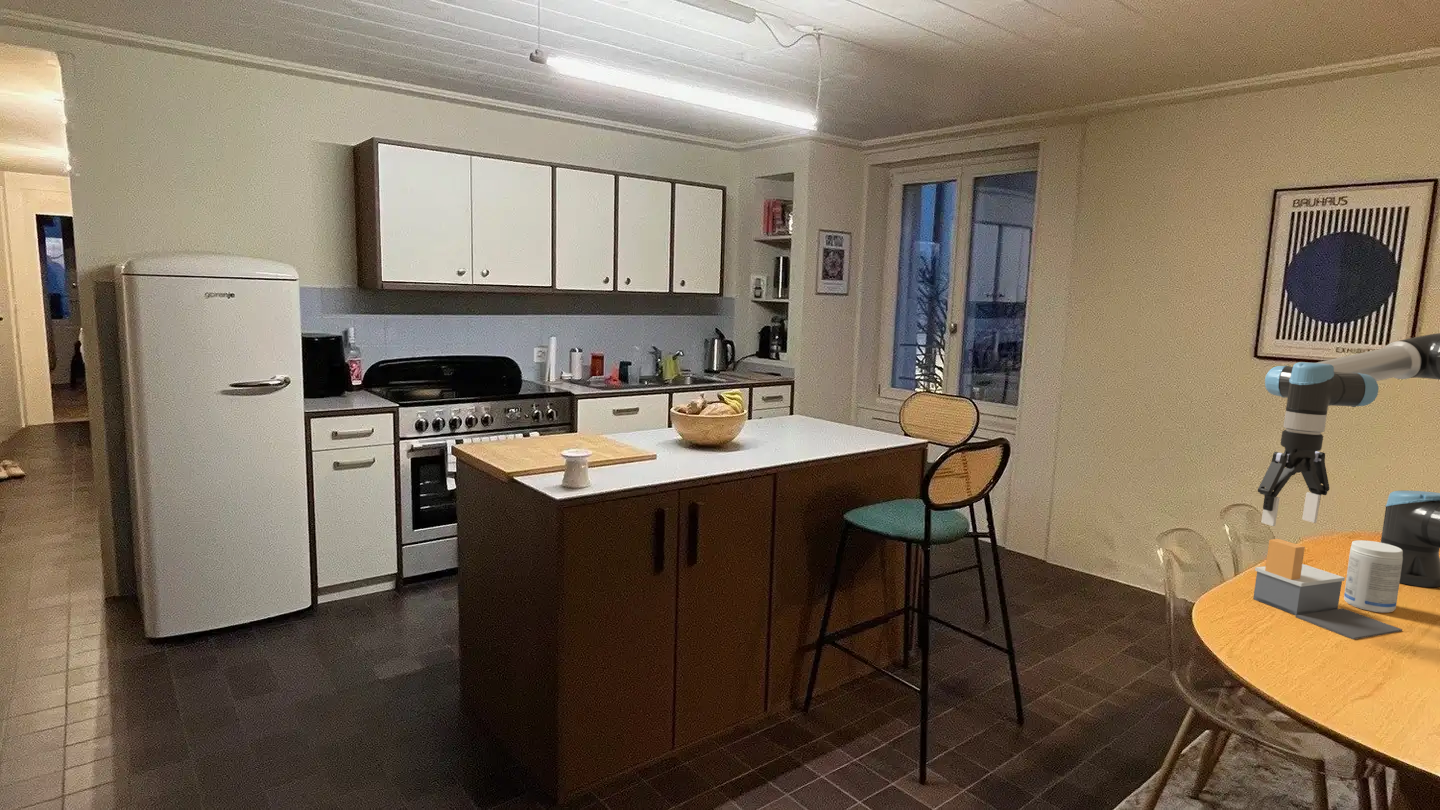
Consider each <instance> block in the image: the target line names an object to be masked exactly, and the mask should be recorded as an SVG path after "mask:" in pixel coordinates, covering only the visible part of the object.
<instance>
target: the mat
mask: <svg viewBox="0 0 1440 810" xmlns="http://www.w3.org/2000/svg"><path fill="white" fill-rule="evenodd" d="M1294 616H1295V615H1294ZM1295 618H1297V619H1299V620H1302V621H1304V622H1307V623H1310V624H1311V625H1315V626H1317V627H1320V628H1322V629H1325V630H1328V631H1330V632H1333V633H1335V634H1338V635H1340V636H1343V637H1345V638H1348V639H1351V640H1359V639H1365V638H1370V637H1375V636H1383V635H1389V634H1393V633H1398V632H1399V633H1400V632H1403V629H1402V628H1400V627H1397V626H1393V625H1391V624H1388V623H1386V622H1383V621H1380V620H1378V619H1374V618H1372V617H1369V616H1366V615H1363V614H1362V613H1361V614H1360V613H1359V612H1355V611H1352V610H1349V609H1346V608H1344V607H1341V608H1338V609H1334V610H1328V611H1321V612H1315V613H1308V614H1302V615H1296V616H1295Z"/></svg>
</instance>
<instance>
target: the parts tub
mask: <svg viewBox="0 0 1440 810" xmlns="http://www.w3.org/2000/svg"><path fill="white" fill-rule="evenodd" d="M1255 576H1256V578H1255V584H1254V590H1253V597H1252V598H1253V600H1255V601H1256V602H1259V603H1262V604H1265V605H1267V606H1270V607H1272V608H1275V609H1277V610H1281V611H1282V612H1285V613H1288V614H1290V615H1293V616H1296V615H1302V614H1308V613H1315V612H1321V611H1328V610H1334V609H1339V602H1340V596H1341V590H1342V584H1343V581H1340V582H1332V583H1325V584H1318V585H1310V586H1303V587H1300V586H1298V585H1295V584H1292V583H1289V582H1286V581H1283V580H1280V579H1278V578H1275V577H1272V576H1269V575H1266V574H1263V573H1260V572H1258V571H1256V575H1255Z"/></svg>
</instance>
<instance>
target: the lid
mask: <svg viewBox="0 0 1440 810" xmlns="http://www.w3.org/2000/svg"><path fill="white" fill-rule="evenodd" d="M1305 549H1306V547H1305V546H1304V545H1300V544H1297V543H1294V542H1290V541H1287V540H1284V539H1280V538H1273V539H1269V542H1268V546H1267V553H1266V554H1267V555H1266V563H1265V566H1255V569H1254V572H1257V571H1258V572H1260V573H1263V574H1266V575H1269V576H1272V577H1275V578H1278V579H1280V580H1283V581H1286V582H1289V583H1292V584H1295V585H1298V586H1300V587H1303V586H1310V585H1318V584H1325V583H1332V582H1340V581H1342V582H1344V581H1346V577H1344V576H1342V575H1338V574H1335V573H1332V572H1330V571H1327V570H1323V569H1320V568H1316V567H1313V566H1311V565H1307V564H1304V563H1303V561H1304V555H1305Z"/></svg>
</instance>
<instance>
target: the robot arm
mask: <svg viewBox="0 0 1440 810" xmlns="http://www.w3.org/2000/svg"><path fill="white" fill-rule="evenodd" d="M1393 378H1394V379H1397V380H1407V379H1408V380H1409V379H1415V378H1419V379H1430V380H1437V381H1438V380H1439V381H1440V333H1431V334H1425V335H1420V336H1415V337H1414V336H1413V337H1410V338H1406V339H1402V340H1395V341H1393V342H1390V343H1388V344H1387V345H1386V346H1384V347H1383V348H1379V349H1375V350H1374V349H1373V350H1370V351H1369V350H1368V351H1364V352H1361V353H1359V352H1358V353H1355V354H1350V355H1345V356H1342V357H1336V358H1332V359H1327V360H1326V359H1325V360H1322V361H1318V362H1305V361H1301V362H1300V361H1299V362H1296V363H1294V364H1293V366H1291V365H1276V366H1274V367H1272V368H1271V369H1269V370H1268V372H1267V373H1266V374H1265V378H1264V385H1265V389H1266V391H1267V392H1268V393H1269V394H1271V395H1272V396H1277V397H1281V398H1283V399H1286V400H1287V401H1286V407H1285V414H1284V420H1283V428H1285V429H1284V430H1282V432H1281V439H1280V446H1281V447H1284V449H1285V450H1284V452H1278V451H1274V452H1273V454H1272V457H1271V462H1270V464H1269V466H1268V468H1267V470H1266V472H1265V473H1264V476H1263V478H1262V480H1261V482H1260V485H1259V486H1258V488H1257V492H1258V493H1259V494H1260V495H1264V498H1263V504H1262V513H1261V514H1262V515H1261V522H1260V523H1261V524H1265V525H1267V526H1271V527H1276V523H1277V517H1278V509H1279V504H1280V497H1278V495H1279V493H1280V492H1281V491H1282V490H1283V488H1284V487H1285V485H1286V484H1287V483H1288V481H1289V480H1290V479H1291V477H1292V476H1294V475H1296V474H1299V473H1301V475H1302V478H1303V480H1304V481H1305V484H1306V487H1307V489H1308V490H1309V491H1307V492H1306V493H1305V499H1304V505H1303V510H1302V511H1303V512H1302V517H1301V518H1302V519H1301V520H1303V521H1306V522H1310V523H1313V524H1316V523H1317V521H1318V520H1317V519H1318V515H1319V508H1320V502H1321V496H1327V495H1328V492H1329V491H1330V484H1329V478H1328V472H1327V468H1326V467H1327V466H1326V462H1325V461H1326V453H1325V452H1322V451H1321V450H1322V447H1323V441H1324V436H1323V434H1322V433H1324V432H1325V429H1326V422H1327V417H1328V416H1327V415H1328V410H1329V406H1332V407H1334V406H1336V407H1352V408H1356V407H1363V406H1364V407H1365V406H1368V405H1371V404H1372V403H1373V402H1374V401H1375V400H1376V399H1377V397H1378V395H1379V384H1378V382H1379V381H1383V380H1389V379H1393ZM1387 497H1388V498H1387V501H1386V504H1385V511H1384V519H1383V524H1382V525H1383V526H1382V530H1381V531H1382V532H1381V536H1380V538H1381V539H1380V543H1385V544H1389V545H1393V546H1396V547H1398V548H1400V549H1402V550H1403V554H1402V556H1403V561H1402V569H1401V575H1400V582H1399V584H1402V585H1403V584H1404V585H1409V586H1415V587H1422V588H1423V587H1424V588H1440V492H1433V491H1422V490H1394V491H1392V492H1390V493H1389V494H1388V496H1387Z"/></svg>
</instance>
